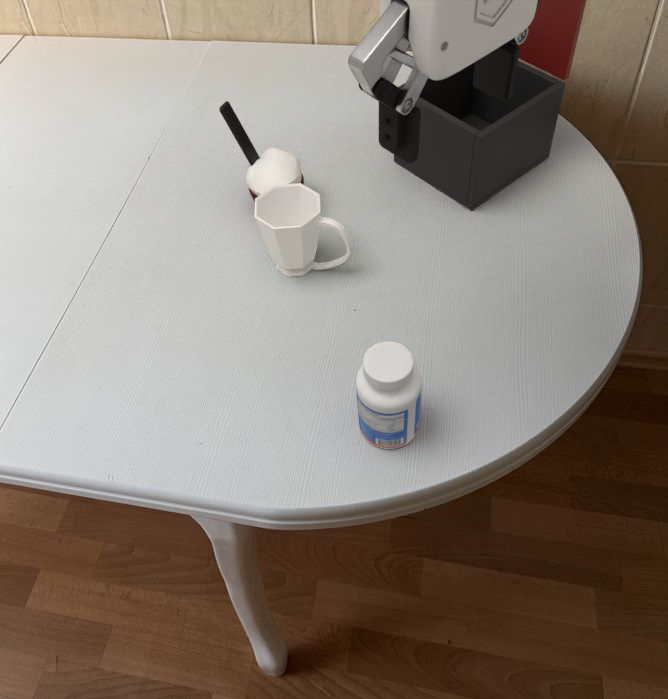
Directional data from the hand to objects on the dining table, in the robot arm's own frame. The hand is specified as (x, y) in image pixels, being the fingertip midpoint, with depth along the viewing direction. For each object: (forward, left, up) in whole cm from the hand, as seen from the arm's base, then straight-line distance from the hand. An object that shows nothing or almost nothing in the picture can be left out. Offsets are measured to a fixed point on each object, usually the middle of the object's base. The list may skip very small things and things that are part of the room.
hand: (446, 121), depth 50 cm
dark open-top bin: (-7, -27, -24) cm, 37 cm away
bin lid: (-12, -31, -7) cm, 34 cm away
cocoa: (+16, -20, -24) cm, 35 cm away
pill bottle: (+4, +10, -24) cm, 27 cm away
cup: (+12, -10, -24) cm, 29 cm away
